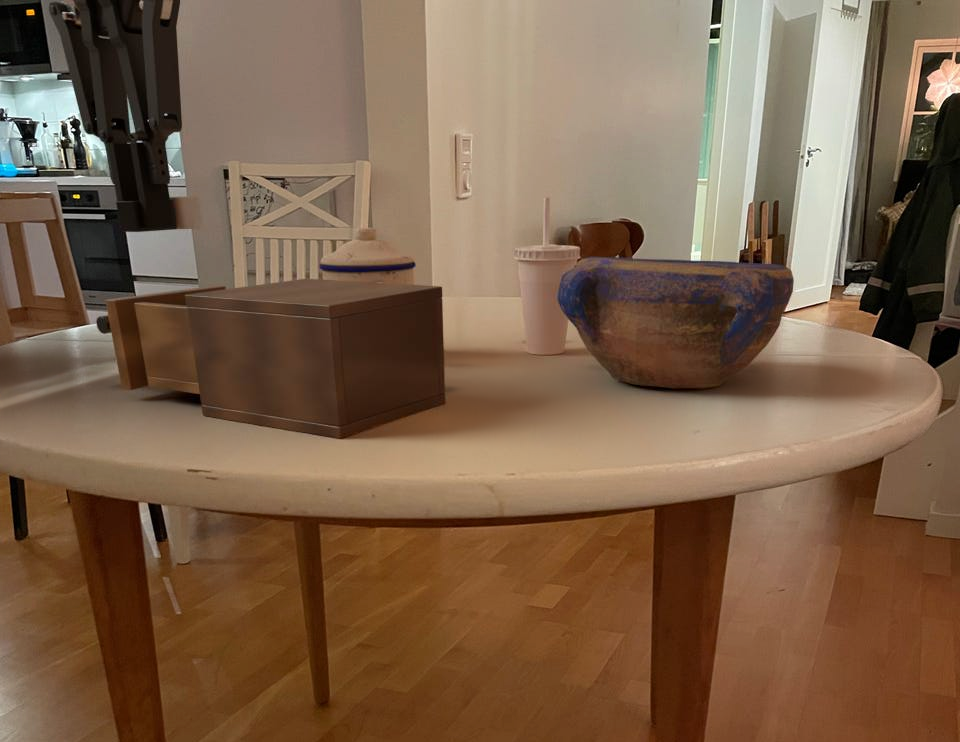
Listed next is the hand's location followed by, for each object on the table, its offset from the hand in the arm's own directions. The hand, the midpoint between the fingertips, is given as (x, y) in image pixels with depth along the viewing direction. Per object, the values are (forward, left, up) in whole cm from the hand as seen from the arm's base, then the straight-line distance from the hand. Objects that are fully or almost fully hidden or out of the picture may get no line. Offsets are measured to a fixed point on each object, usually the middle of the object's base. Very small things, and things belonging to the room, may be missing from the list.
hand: (147, 226), depth 81 cm
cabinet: (+22, -12, -12) cm, 28 cm away
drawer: (+9, -8, -11) cm, 17 cm away
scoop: (0, +2, 0) cm, 2 cm away
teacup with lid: (+17, +9, -12) cm, 23 cm away
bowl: (+46, +6, -12) cm, 48 cm away
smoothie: (+32, +17, -12) cm, 39 cm away
